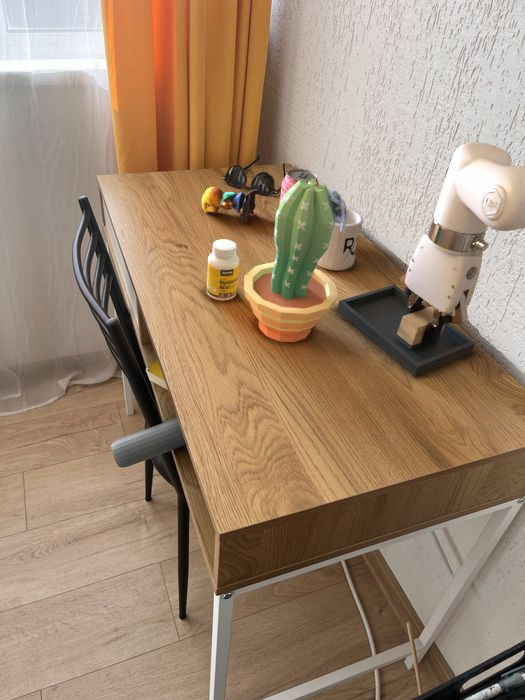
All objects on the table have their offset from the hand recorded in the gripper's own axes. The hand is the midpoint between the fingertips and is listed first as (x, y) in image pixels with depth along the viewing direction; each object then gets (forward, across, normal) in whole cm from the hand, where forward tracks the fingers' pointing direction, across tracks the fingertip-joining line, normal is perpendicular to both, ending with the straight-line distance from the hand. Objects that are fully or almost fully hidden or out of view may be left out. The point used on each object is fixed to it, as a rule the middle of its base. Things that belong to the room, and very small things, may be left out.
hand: (419, 333), depth 88 cm
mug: (+2, +28, -5) cm, 29 cm away
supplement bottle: (+2, +26, +23) cm, 35 cm away
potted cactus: (+2, +14, +18) cm, 23 cm away
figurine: (+2, +54, +6) cm, 54 cm away
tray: (+2, +4, 0) cm, 4 cm away
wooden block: (+1, 0, 0) cm, 1 cm away
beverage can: (+2, +44, -5) cm, 44 cm away
